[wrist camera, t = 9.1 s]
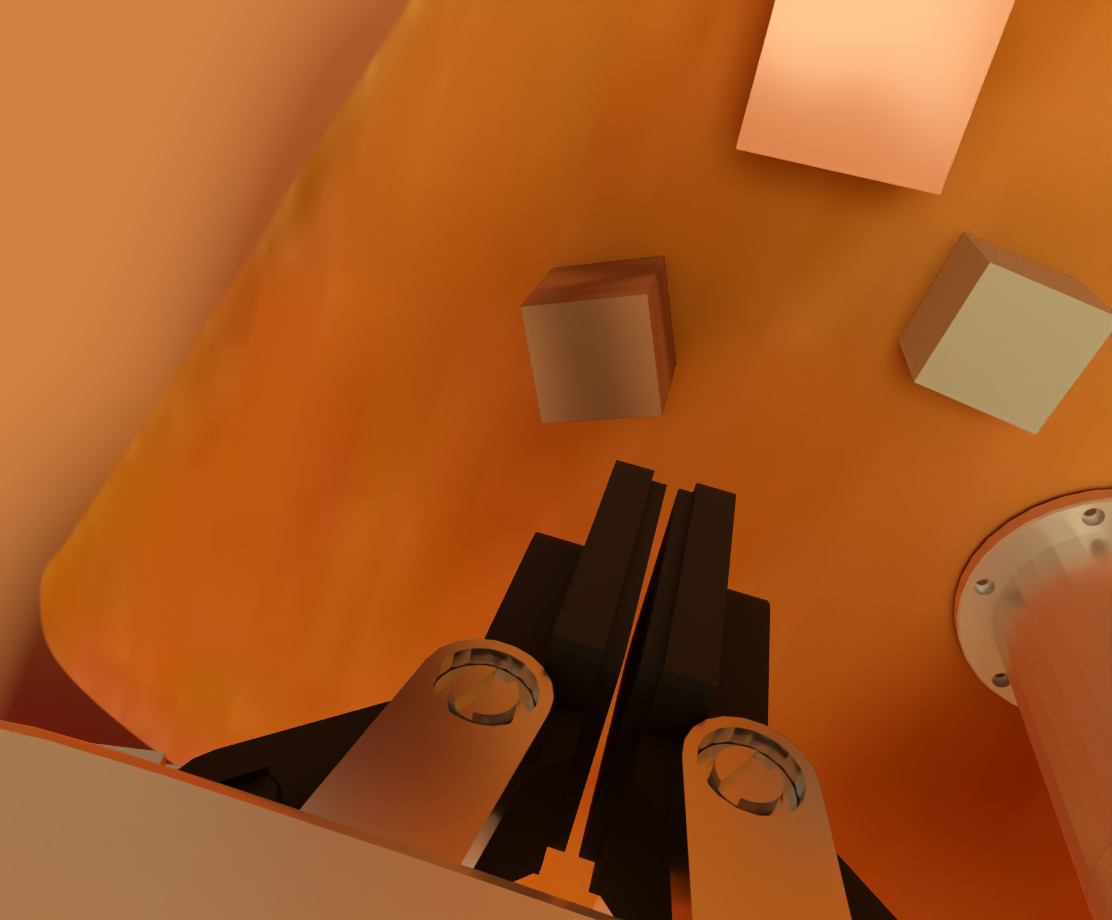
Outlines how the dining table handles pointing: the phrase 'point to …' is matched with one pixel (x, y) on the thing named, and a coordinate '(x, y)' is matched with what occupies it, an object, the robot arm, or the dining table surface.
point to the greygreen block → (1003, 333)
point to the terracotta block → (872, 85)
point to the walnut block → (601, 340)
